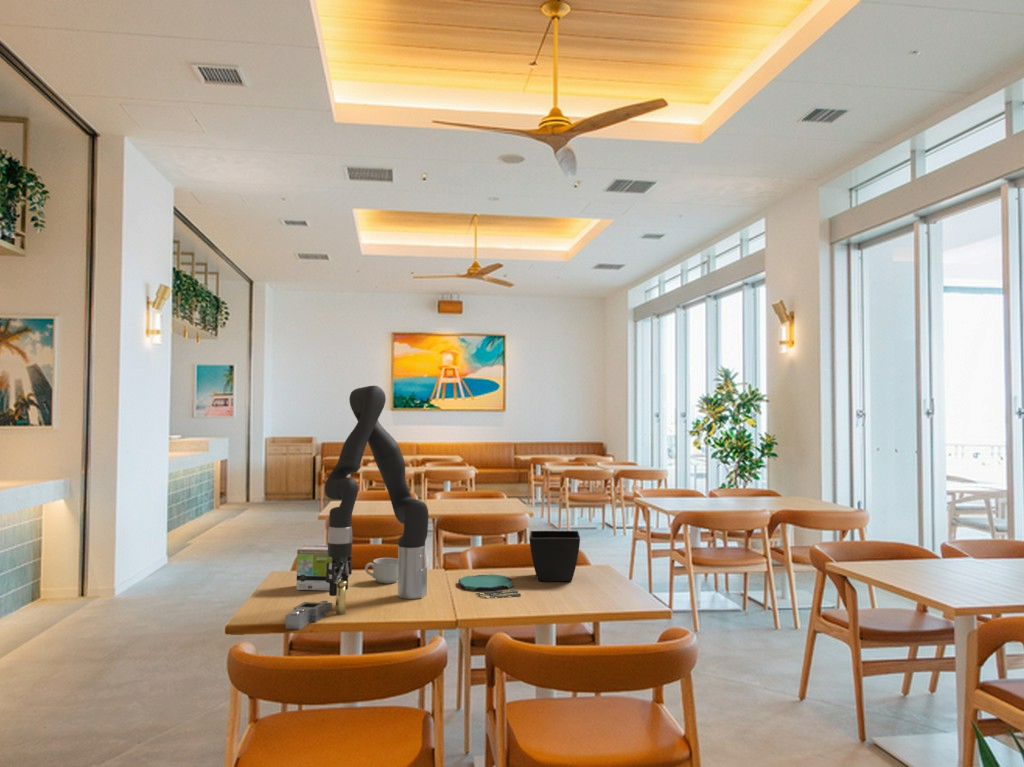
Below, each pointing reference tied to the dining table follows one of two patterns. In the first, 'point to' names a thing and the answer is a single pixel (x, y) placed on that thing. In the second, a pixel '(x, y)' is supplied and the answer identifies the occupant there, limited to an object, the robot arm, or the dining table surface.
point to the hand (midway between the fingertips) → (338, 592)
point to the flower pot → (554, 554)
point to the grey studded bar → (307, 614)
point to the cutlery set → (488, 584)
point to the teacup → (384, 570)
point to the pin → (340, 597)
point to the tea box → (313, 567)
